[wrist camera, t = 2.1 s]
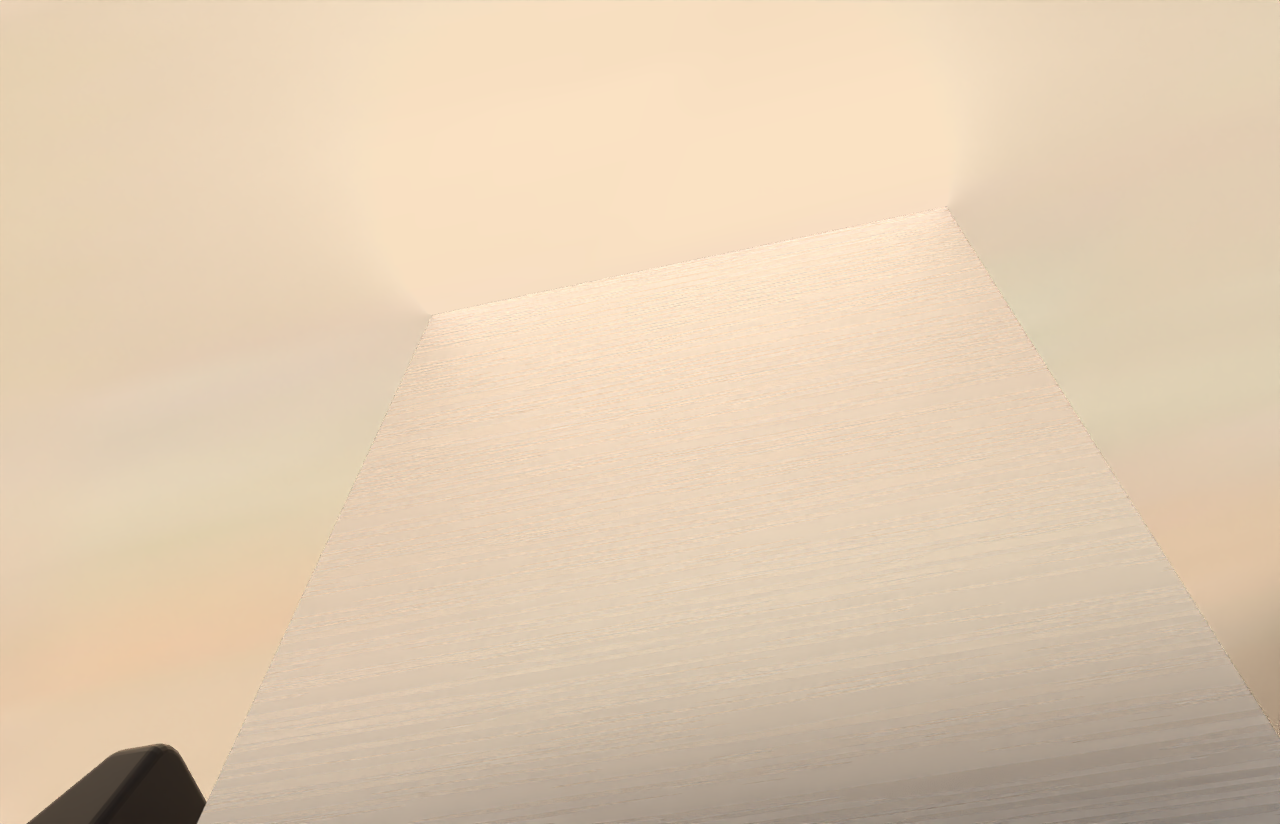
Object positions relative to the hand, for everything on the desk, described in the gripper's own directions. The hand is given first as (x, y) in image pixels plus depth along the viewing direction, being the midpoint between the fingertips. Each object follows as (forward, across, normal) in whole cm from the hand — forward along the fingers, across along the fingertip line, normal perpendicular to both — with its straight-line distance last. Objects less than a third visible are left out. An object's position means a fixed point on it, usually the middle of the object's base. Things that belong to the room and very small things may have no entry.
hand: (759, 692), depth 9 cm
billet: (+3, 0, 0) cm, 3 cm away
